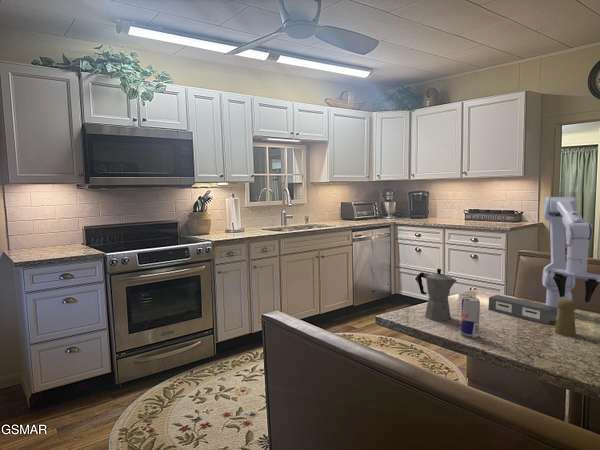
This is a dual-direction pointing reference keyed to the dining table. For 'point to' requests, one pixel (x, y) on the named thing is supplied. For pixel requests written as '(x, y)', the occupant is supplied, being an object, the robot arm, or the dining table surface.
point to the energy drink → (470, 317)
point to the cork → (566, 318)
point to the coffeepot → (437, 294)
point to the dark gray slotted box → (523, 309)
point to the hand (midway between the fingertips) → (574, 299)
